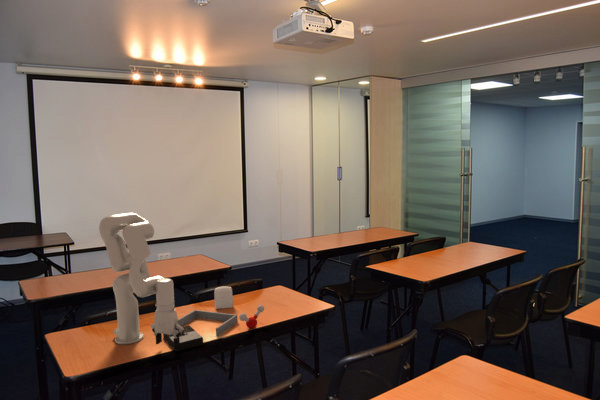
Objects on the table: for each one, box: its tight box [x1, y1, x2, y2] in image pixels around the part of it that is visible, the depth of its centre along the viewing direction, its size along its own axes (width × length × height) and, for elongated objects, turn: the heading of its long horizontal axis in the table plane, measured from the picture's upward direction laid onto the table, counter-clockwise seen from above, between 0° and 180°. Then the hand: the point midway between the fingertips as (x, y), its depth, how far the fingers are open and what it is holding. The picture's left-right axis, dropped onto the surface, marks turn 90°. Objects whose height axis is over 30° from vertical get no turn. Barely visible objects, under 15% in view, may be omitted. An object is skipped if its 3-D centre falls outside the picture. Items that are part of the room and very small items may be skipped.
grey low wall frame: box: [178, 309, 239, 337], centre depth 220 cm, size 26×19×4 cm
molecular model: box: [238, 304, 265, 330], centre depth 215 cm, size 18×6×10 cm, turn 154°
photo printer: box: [213, 285, 234, 310], centre depth 247 cm, size 10×4×12 cm, turn 99°
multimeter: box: [162, 324, 204, 352], centre depth 202 cm, size 13×19×5 cm
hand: (167, 344), depth 191 cm, fingers open, 9 cm apart
